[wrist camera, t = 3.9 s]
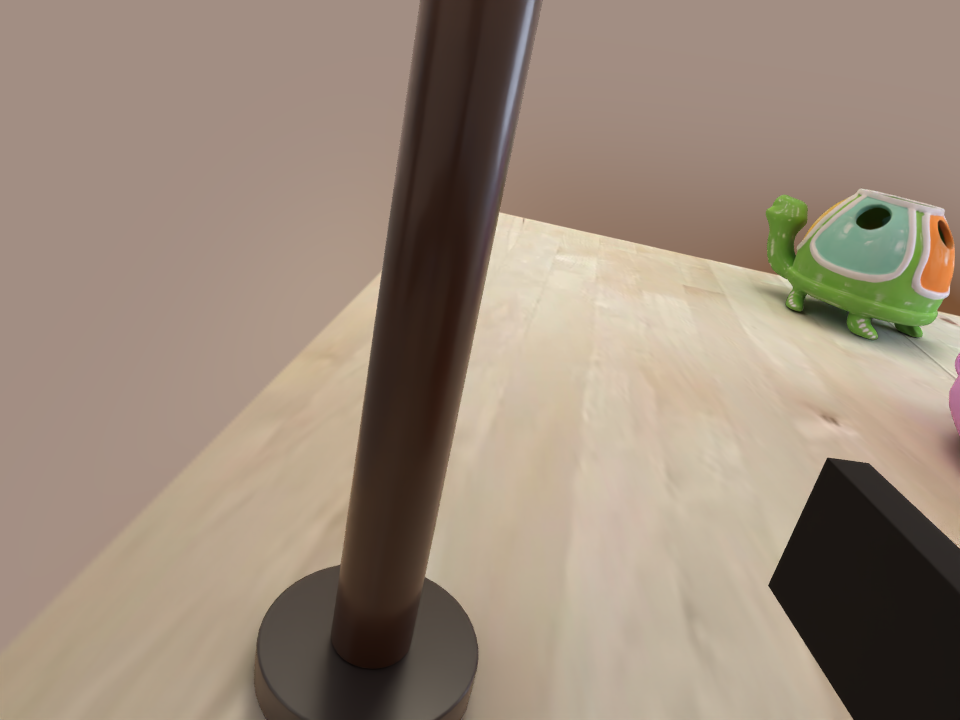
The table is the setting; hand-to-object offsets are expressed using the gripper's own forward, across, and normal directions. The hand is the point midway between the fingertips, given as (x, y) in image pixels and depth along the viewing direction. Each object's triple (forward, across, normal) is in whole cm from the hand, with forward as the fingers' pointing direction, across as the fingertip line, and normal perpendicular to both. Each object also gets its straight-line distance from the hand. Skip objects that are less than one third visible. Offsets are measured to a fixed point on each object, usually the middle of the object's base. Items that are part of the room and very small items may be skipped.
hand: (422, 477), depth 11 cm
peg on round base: (+5, 0, -10) cm, 11 cm away
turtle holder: (+52, +42, -10) cm, 68 cm away
